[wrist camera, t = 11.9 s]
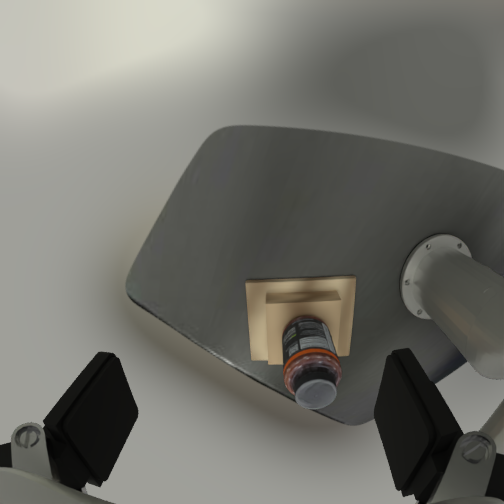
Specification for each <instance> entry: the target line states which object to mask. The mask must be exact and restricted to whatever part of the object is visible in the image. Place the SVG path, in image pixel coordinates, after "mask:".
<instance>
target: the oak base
mask: <svg viewBox="0 0 504 504" xmlns="http://www.w3.org/2000/svg"><path fill="white" fill-rule="evenodd" d="M355 286H356V277H355V276H335V277H315V278H292V279H266V280H246V295H247V308H248V322H249V335H250V347H251V360H268V365H269V364H283V352H282V334H283V331H284V329H285V327H286V326H287V325H288V324H289V323H290V322H291V321H292V320H294V319H296V318H298V317H301V316H313V317H317V318H319V319H321V320H322V321H323V322H324V323H325V324H326V325H327V327H328V329H329V331H330V334H331V335H332V340H333V343H334V346H335V349H336V353H337V355H338V356H348V355H349V350H350V341H351V332H352V323H353V312H354V300H355Z"/></svg>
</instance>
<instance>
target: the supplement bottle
mask: <svg viewBox="0 0 504 504" xmlns="http://www.w3.org/2000/svg"><path fill="white" fill-rule="evenodd" d="M282 352H283V372H284V382H285V385H286V387H287V389H288V390H289V391H290V392H291V393H292V394H294V395H295V400H296V402H297V403H298V404H299V405H300V406H302V407H304V408H307V409H319V408H323V407H325V406H327V405H329V404H330V403H331V402H332V401H333V400H334V399H335V397H336V395H337V388H336V387H337V385H338V384H339V382H340V379H341V375H342V370H341V366H340V362H339V359H338V355H337V353H336V349H335V346H334V343H333V340H332V335H331V334H330V331H329V329H328V327H327V325H326V324H325V323H324V322H323V321H322V320H321V319H319V318H317V317H313V316H301V317H298V318H296V319H294V320H292V321H291V322H290V323H289V324H288V325H287V326H286V327H285V329H284V331H283V334H282Z"/></svg>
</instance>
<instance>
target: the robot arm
mask: <svg viewBox="0 0 504 504" xmlns="http://www.w3.org/2000/svg"><path fill="white" fill-rule="evenodd" d="M426 245H427V246H426ZM400 293H401V298H402V300H403V302H404V304H405V306H406V307H407V308H408V310H409V311H410V312H411V313H412V314H413V315H415V316H417V317H419V318H422V319H432V320H433V321H434V322H435V323H436V324H437V325H438V327H439V328H440V329H441V330H442V331H443V332H444V333H445V335H446V336H447V337H448V338H449V339H450V340H451V342H452V343H453V344H454V345H455V346H456V348H457V349H458V350H459V351H460V352H461V354H462V355H463V356H464V357H465V358H466V360H467V361H468V362H469V363H470V364H471V366H472V367H473V368H474V369H475V370H476V371H477V372H478V373H479V374H480V375H482V376H484V377H486V378H489V379H496V380H498V379H504V277H502V276H501V275H499V274H497V273H496V272H494V271H492V270H491V269H490V268H489V267H486V266H484V265H482V264H481V263H479V262H477V261H475V260H474V259H472V257H471V253H470V251H469V249H468V247H467V246H466V245H465V243H464V242H463V241H461V240H460V239H459V238H457V237H455V236H453V235H449V234H437V235H433V236H431V237H429V238H427V239H425V240H424V241H422V242H421V243H420V244H418V245H417V247H416V248H415V249H414V250H413V251H412V252H411V254H410V255H409V257H408V258H407V260H406V262H405V264H404V267H403V270H402V273H401V279H400ZM137 418H138V407H137V405H136V403H135V400H134V398H133V395H132V392H131V390H130V387H129V384H128V382H127V379H126V377H125V373H124V371H123V368H122V365H121V362H120V359H119V358H117V357H116V356H115V354H114V353H107V352H98V353H97V354H96V355H95V357H94V358H93V359H92V360H91V361H90V363H89V364H88V365H87V366H86V368H85V369H84V370H83V371H82V372H81V373H80V375H79V376H78V377H77V378H76V380H75V381H74V382H73V383H72V385H71V386H70V387H69V388H68V389H67V391H66V392H65V393H64V395H63V396H62V397H61V398H60V399H59V401H58V402H57V403H56V405H55V406H54V407H53V408H52V410H51V411H50V412H49V414H48V415H47V416H46V418H45V419H44V420H43V422H44V424H45V426H44V427H43V428H42V427H41V426H40V425H39V424H37V423H32V422H31V423H25V424H22V425H20V426H19V427H17V429H15V430H14V432H13V434H12V437H11V442H10V443H6V444H2V445H0V504H114V503H111V502H108V501H104V500H102V499H99V498H96V497H93V496H90V495H88V494H87V491H86V488H85V484H86V483H87V482H88V483H89V484H92V485H95V486H98V487H101V485H102V483H103V481H106V480H107V479H108V477H109V475H110V473H111V471H112V469H113V467H114V465H115V463H116V461H117V459H118V457H119V454H120V452H121V450H122V448H123V446H124V444H125V442H126V440H127V438H128V436H129V434H130V432H131V430H132V428H133V426H134V423H135V422H136V420H137ZM374 418H375V421H376V424H377V427H378V431H379V434H380V437H381V440H382V443H383V446H384V449H385V453H386V456H387V459H388V463H389V466H390V470H391V473H392V477H393V480H394V484H395V487H396V489H397V490H398V491H400V490H401V491H402V495H403V497H405V496H408V495H412V494H414V496H415V499H416V500H417V502H416V504H504V399H503V401H502V402H501V404H500V405H499V406H498V408H497V409H496V410H495V412H494V413H493V414H492V415H491V417H490V418H489V419H488V421H487V422H486V423H485V424H484V426H483V427H482V428H481V429H480V430H479V431H472V432H468V433H466V434H463V432H462V430H461V428H460V426H459V424H458V423H457V421H456V419H455V417H454V416H453V414H452V412H451V411H450V409H449V407H448V405H447V404H446V402H445V400H444V399H443V397H442V395H441V393H440V392H439V390H438V389H437V387H436V385H435V384H434V383H433V382H432V381H430V380H429V378H428V377H427V375H426V373H425V372H424V370H423V368H422V367H421V365H420V364H419V362H418V361H417V359H416V357H415V356H414V354H413V353H412V351H411V350H410V349H409V348H405V349H398V350H393V351H392V353H391V355H388V356H387V359H386V363H385V368H384V372H383V377H382V381H381V385H380V389H379V393H378V397H377V401H376V405H375V408H374Z"/></svg>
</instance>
